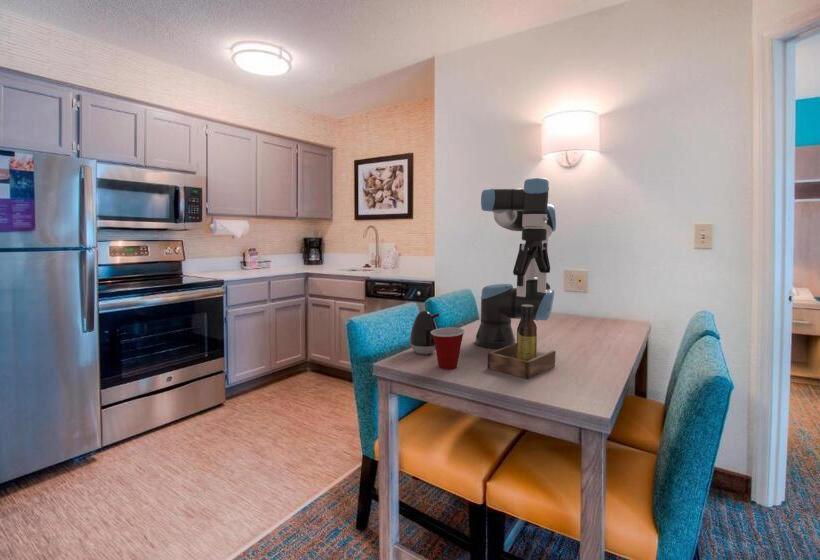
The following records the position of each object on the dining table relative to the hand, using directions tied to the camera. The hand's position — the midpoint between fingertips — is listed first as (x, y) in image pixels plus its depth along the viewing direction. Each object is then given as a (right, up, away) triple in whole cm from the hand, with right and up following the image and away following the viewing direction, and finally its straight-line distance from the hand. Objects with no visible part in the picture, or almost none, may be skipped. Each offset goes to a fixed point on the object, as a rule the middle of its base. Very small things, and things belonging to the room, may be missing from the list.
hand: (531, 294), depth 136 cm
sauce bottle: (-2, -23, +1) cm, 23 cm away
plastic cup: (-28, -23, -2) cm, 36 cm away
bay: (-4, -23, -1) cm, 24 cm away
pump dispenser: (-34, -22, +14) cm, 43 cm away
